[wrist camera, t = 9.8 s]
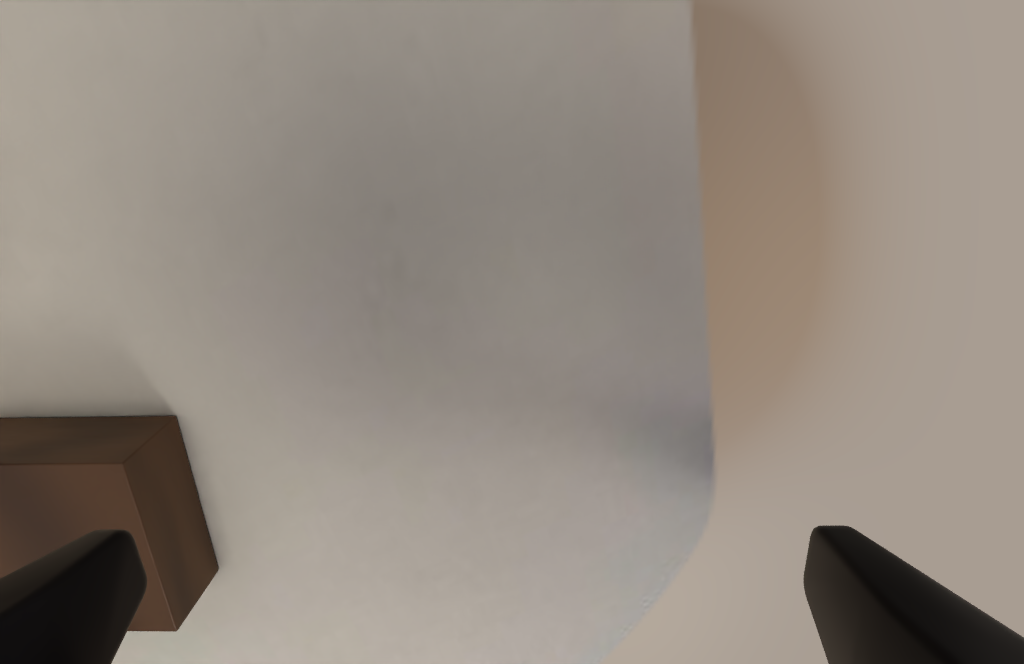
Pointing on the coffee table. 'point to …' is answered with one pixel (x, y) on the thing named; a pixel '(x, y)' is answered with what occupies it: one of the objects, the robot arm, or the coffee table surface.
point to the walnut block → (107, 502)
